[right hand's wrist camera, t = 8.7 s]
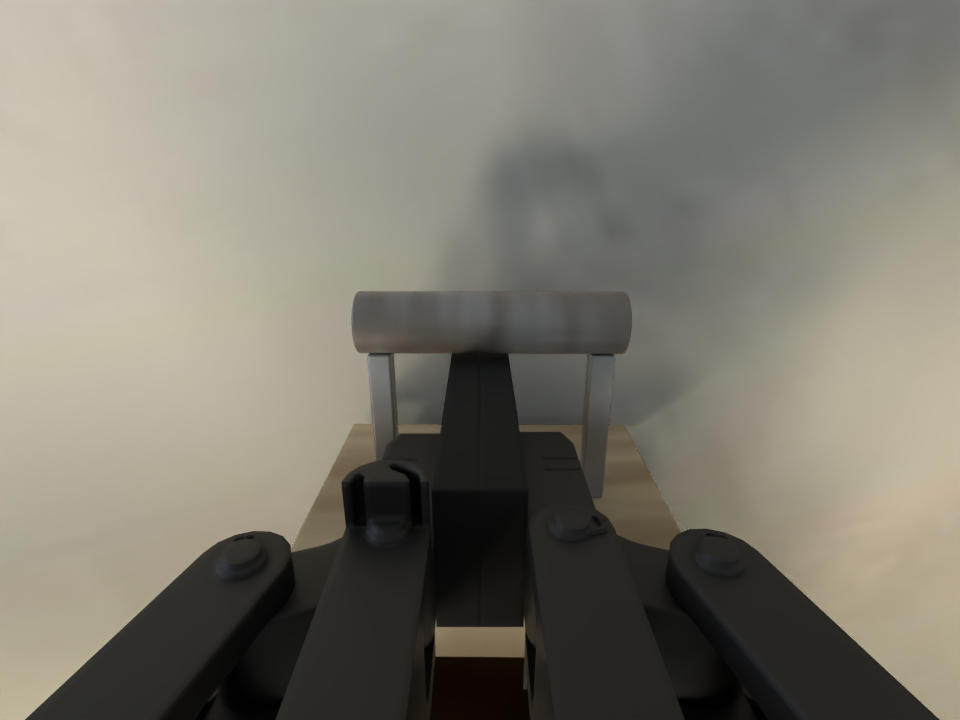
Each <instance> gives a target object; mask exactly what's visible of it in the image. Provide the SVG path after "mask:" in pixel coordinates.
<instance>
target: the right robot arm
mask: <svg viewBox="0 0 960 720" xmlns="http://www.w3.org/2000/svg"><path fill="white" fill-rule="evenodd" d="M341 485H342V495H343V504H344V514H345V524H346V529H345V532H344V534H343V537H342V538H339V539H337V540H335V541H333V542H331V543H328V544H325V545H321V546H318V547H314V548H309V549H305V550H300V551H295V552H291V547H290V544H289V543H288V542H287V540H286V539H285V538H284V537H283V536H281V535H278V534H275V533H272V532H263V531H253V532H248V533H243V534H238V535H235V536H232V537H230V538H228V539H225V540H223V541H221V542H218V543H217V544H215V545H214V546H213V547H211V548H210V549H208V550H207V551H206V552H204V553H203V554H202V555H201V556H200V557H199V558H198V559H196V560H195V561H194V562H193V563H192V564H191V565H190V566H189V567H188V568H187V569H186V570H185V571H184V572H183V573H182V574H180V575H179V576H178V577H177V578H176V579H175V580H174V581H173V582H172V583H171V584H170V585H169V586H168V587H167V588H165V589H164V590H163V591H162V592H161V593H160V594H159V595H158V596H157V597H156V598H155V599H154V600H153V601H152V602H150V603H149V604H148V605H147V606H146V607H145V608H144V609H143V610H142V611H141V612H140V613H139V614H138V615H137V616H136V617H134V618H133V619H132V620H131V621H130V622H129V623H128V624H127V625H126V626H125V627H124V628H123V629H122V630H121V631H119V632H118V633H117V634H116V635H115V636H114V637H113V638H112V639H111V640H110V641H109V642H108V643H107V644H106V645H105V646H103V647H102V648H101V649H100V650H99V651H98V652H97V653H96V654H95V655H94V656H93V657H92V658H91V659H90V660H88V661H87V662H86V663H85V664H84V665H83V666H82V667H81V668H80V669H79V670H78V671H77V672H76V673H75V674H73V675H72V676H71V677H70V678H69V679H68V680H67V681H66V682H65V683H64V684H63V685H62V686H61V687H60V688H59V689H57V690H56V691H55V692H54V693H53V694H52V695H51V696H50V697H49V698H48V699H47V700H46V701H45V702H44V703H42V704H41V705H40V706H39V707H38V708H37V709H36V710H35V711H34V712H33V713H32V714H31V715H30V716H29V717H28V718H26V719H25V720H430V713H431V702H432V690H433V679H434V668H435V656H436V652H435V623H436V627H524V620H525V652H524V678H523V689H527V690H528V701H529V712H530V720H939V719H938V718H937V717H936V716H935V715H934V714H933V713H932V712H931V711H930V710H928V709H927V708H926V707H925V706H924V705H923V704H922V703H921V702H920V701H919V700H918V699H917V698H915V697H914V696H913V695H912V694H911V693H910V692H909V691H908V690H907V689H906V688H905V687H904V686H903V685H901V684H900V683H899V682H898V681H897V680H896V679H895V678H894V677H893V676H892V675H891V674H890V673H889V672H887V671H886V670H885V669H884V668H883V667H882V666H881V665H880V664H879V663H878V662H877V661H876V660H875V659H873V658H872V657H871V656H870V655H869V654H868V653H867V652H866V651H865V650H864V649H863V648H862V647H861V646H859V645H858V644H857V643H856V642H855V641H854V640H853V639H852V638H851V637H850V636H849V635H848V634H847V633H845V632H844V631H843V630H842V629H841V628H840V627H839V626H838V625H837V624H836V623H835V622H834V621H833V620H831V619H830V618H829V617H828V616H827V615H826V614H825V613H824V612H823V611H822V610H821V609H820V608H819V607H817V606H816V605H815V604H814V603H813V602H812V601H811V600H810V599H809V598H808V597H807V596H806V595H804V594H803V593H802V592H801V591H800V590H799V589H798V588H797V587H796V586H795V585H794V584H793V583H792V582H790V581H789V580H788V579H787V578H786V577H785V576H784V575H783V574H782V573H781V572H780V571H779V570H778V569H776V568H775V567H774V566H773V565H772V564H771V563H770V562H769V561H768V560H767V559H766V558H765V557H764V556H762V555H761V554H760V553H759V552H758V551H757V550H756V549H754V548H753V547H751V546H750V545H749V544H747V543H746V542H744V541H743V540H741V539H739V538H736V537H734V536H732V535H729V534H727V533H724V532H719V531H714V530H710V529H690V530H687V531H684V532H681V533H679V534H677V535H676V536H675V537H674V538H673V540H672V541H671V542H670V547H669V550H666V549H661V548H657V547H652V546H648V545H643V544H640V543H636V542H633V541H630V540H628V539H625V538H623V537H621V536H619V535H617V534H616V531H615V528H614V526H613V525H612V523H611V522H610V520H609V519H608V517H606V516H605V515H604V514H602V513H601V512H599V511H598V510H596V508H595V506H594V503H593V500H592V497H591V494H590V491H589V488H588V485H587V482H586V479H585V476H584V473H583V471H582V467H581V464H580V461H579V459H578V455H577V452H576V449H575V446H574V443H573V442H571V441H570V440H569V439H568V438H567V437H566V436H564V435H563V434H562V433H561V432H520V431H519V424H518V417H517V410H516V404H515V397H514V390H513V384H512V377H511V370H510V364H509V357H508V354H475V353H452V357H451V364H450V370H449V377H448V384H447V390H446V397H445V404H444V411H443V417H442V424H441V431H440V433H400V434H399V435H398V436H396V437H395V438H394V439H393V440H392V441H391V442H390V443H388V444H387V445H386V448H385V451H384V454H383V457H382V460H380V461H374V462H371V463H368V464H364V465H361V466H359V467H358V468H356V469H354V470H353V471H351V472H349V473H348V474H347V475H346V477H345V478H344V479H343V480H342V482H341Z"/></svg>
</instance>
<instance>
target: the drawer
mask: <svg viewBox="0 0 960 720" xmlns="http://www.w3.org/2000/svg"><path fill="white" fill-rule="evenodd" d="M631 327H632V314H631V305H630V301H629V298H628V296H627V294H626V293H625V292H410V291H360V292H357V293H356V295H355V298H354V301H353V307H352V335H353V341H354V345H355V348H356V350H357V351H358V352H359V353H369V354H368V357H367V360H368V373H369V386H370V399H371V412H372V424H354V425H353V427H352V429H351V431H350V433H349V435H348V437H347V439H346V441H345V443H344V445H343V447H342V449H341V451H340V453H339V455H338V457H337V459H336V461H335V463H334V465H333V467H332V469H331V471H330V473H329V475H328V477H327V478H326V480H325V482H324V484H323V486H322V488H321V490H320V492H319V494H318V496H317V498H316V500H315V502H314V504H313V506H312V508H311V510H310V512H309V514H308V516H307V518H306V520H305V522H304V524H303V526H302V528H301V530H300V532H299V534H298V536H297V538H296V540H295V542H294V544H293V546H292V548H291V552H295V551H300V550H305V549H309V548H314V547H318V546H321V545H325V544H328V543H331V542H333V541H335V540H337V539H339V538H342V537H343V534H344V532H345V529H346V524H345V514H344V504H343V495H342V485H341V482H342V480H343V479H344V478H345V477H346V475H347V474H348V473H349V472H351V471H353V470H354V469H356V468H358V467H359V466H361V465H364V464H368V463H371V462H374V461H380V460H382V457H383V454H384V451H385V448H386V445H387V444H388V443H390V442H391V441H392V440H393V439H394V438H395V437H396V436H398V435H399V434H400V433H440V431H441V424H398V417H397V400H396V383H395V366H394V353H475V354H588V357H587V371H586V384H585V398H584V411H583V425H519V431H520V432H561V433H562V434H563V435H564V436H566V437H567V438H568V439H569V440H570V441H571V442H573V443H574V446H575V449H576V452H577V455H578V459H579V461H580V464H581V467H582V471H583V473H584V476H585V479H586V482H587V485H588V488H589V491H590V494H591V497H592V500H593V503H594V506H595V508H596V510H598V511H599V512H601V513H602V514H604V515H605V516H606V517H608V519H609V520H610V522H611V523H612V525H613V526H614V528H615V531H616V534H617V535H619V536H621V537H623V538H625V539H628V540H630V541H633V542H636V543H640V544H643V545H648V546H652V547H657V548H661V549H666V550H669V547H670V542H671V541H672V540H673V538H674V537H675V536H676V535H677V534H679V533H681V531H680V529H679V527H678V525H677V523H676V521H675V519H674V517H673V516H672V514H671V512H670V510H669V508H668V506H667V504H666V502H665V501H664V499H663V497H662V495H661V493H660V491H659V489H658V487H657V486H656V484H655V482H654V480H653V478H652V476H651V474H650V472H649V471H648V469H647V467H646V465H645V463H644V461H643V459H642V457H641V456H640V454H639V452H638V450H637V448H636V446H635V444H634V442H633V441H632V439H631V437H630V435H629V433H628V431H627V429H626V427H625V426H624V425H609V419H610V408H611V398H612V387H613V376H614V365H615V356H614V354H623V353H625V352H626V350H627V348H628V345H629V342H630V336H631ZM435 652H436V656H435V668H434V679H433V690H432V702H431V713H430V720H530V712H529V701H528V690H527V689H523V678H524V652H525V620H524V627H436V623H435Z"/></svg>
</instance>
